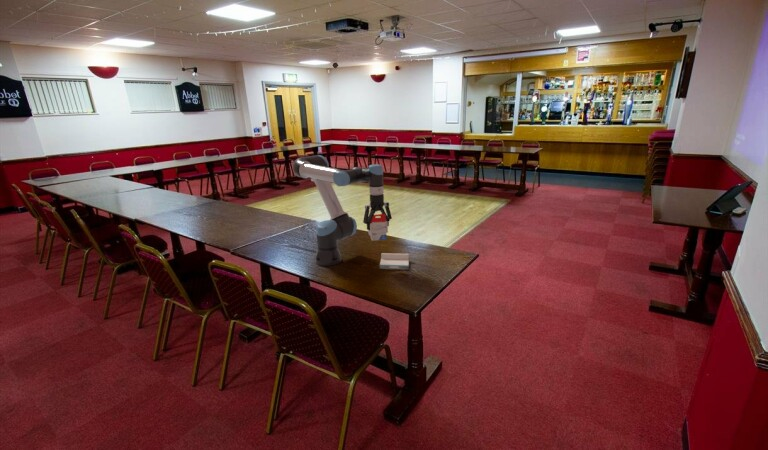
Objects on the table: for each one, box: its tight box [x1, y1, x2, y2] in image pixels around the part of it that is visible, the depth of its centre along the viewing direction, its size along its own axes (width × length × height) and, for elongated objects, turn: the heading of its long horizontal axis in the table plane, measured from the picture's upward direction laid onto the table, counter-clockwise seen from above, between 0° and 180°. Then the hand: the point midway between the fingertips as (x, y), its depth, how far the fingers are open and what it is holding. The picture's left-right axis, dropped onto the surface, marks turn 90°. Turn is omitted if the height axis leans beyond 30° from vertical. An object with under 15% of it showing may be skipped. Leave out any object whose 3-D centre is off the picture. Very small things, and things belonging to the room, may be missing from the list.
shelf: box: [379, 252, 410, 271], centre depth 205 cm, size 16×12×4 cm
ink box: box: [370, 213, 388, 242], centre depth 199 cm, size 8×5×15 cm, turn 100°
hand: (378, 233), depth 200 cm, fingers closed on ink box, 9 cm apart
